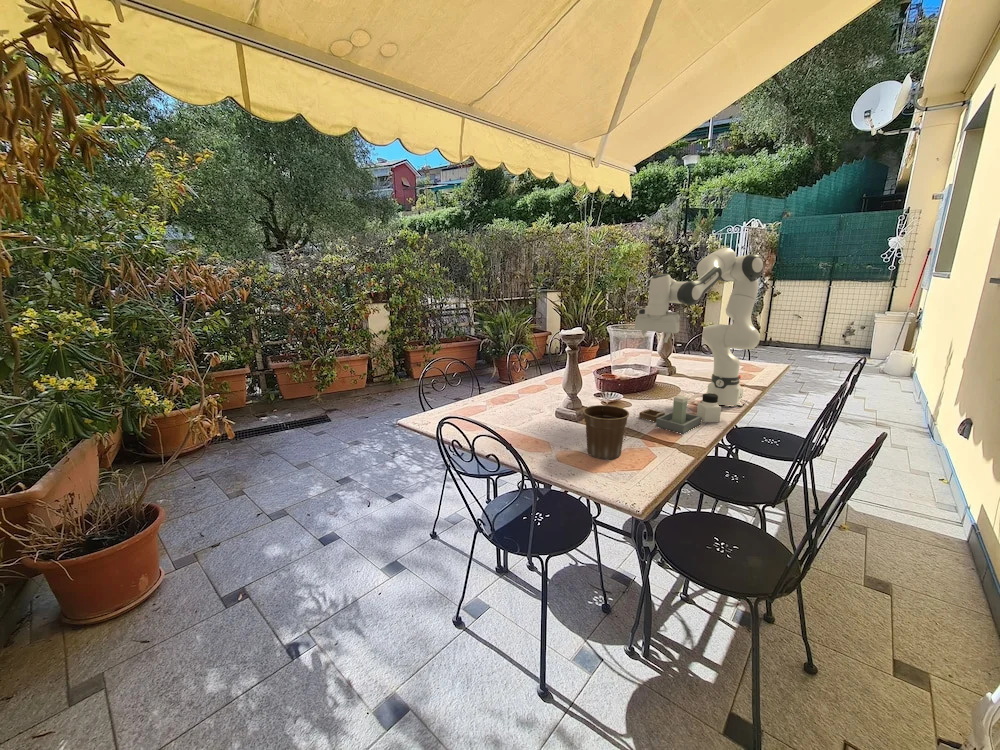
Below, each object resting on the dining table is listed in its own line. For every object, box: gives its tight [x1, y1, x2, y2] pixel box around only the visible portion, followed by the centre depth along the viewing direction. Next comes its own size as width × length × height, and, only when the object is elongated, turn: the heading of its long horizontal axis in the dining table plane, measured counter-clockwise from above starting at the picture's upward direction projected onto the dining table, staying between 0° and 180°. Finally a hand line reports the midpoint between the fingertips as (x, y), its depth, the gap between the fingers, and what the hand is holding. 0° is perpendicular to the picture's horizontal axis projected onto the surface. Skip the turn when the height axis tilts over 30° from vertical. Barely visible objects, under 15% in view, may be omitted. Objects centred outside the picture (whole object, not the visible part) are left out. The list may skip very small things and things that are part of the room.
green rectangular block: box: [672, 395, 688, 425], centre depth 176 cm, size 4×4×12 cm
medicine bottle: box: [696, 392, 722, 423], centre depth 183 cm, size 7×7×12 cm
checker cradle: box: [638, 408, 666, 423], centre depth 188 cm, size 8×8×3 cm
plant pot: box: [582, 404, 630, 460], centre depth 151 cm, size 16×16×16 cm
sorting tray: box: [655, 410, 702, 435], centre depth 177 cm, size 16×12×4 cm
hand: (655, 341), depth 189 cm, fingers open, 8 cm apart
